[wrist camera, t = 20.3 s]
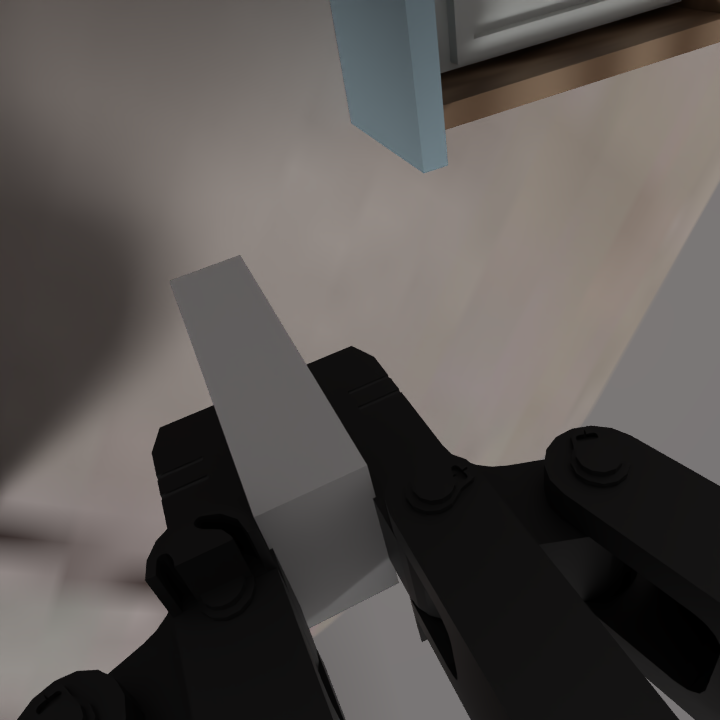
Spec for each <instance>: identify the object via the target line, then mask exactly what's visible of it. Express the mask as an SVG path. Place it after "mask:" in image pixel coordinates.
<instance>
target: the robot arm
mask: <svg viewBox="0 0 720 720" xmlns="http://www.w3.org/2000/svg"><path fill="white" fill-rule="evenodd" d="M170 284H171V287H172V289H173V292H174V295H175V298H176V301H177V303H178V306H179V309H180V312H181V315H182V317H183V320H184V323H185V326H186V329H187V331H188V334H189V337H190V340H191V343H192V345H193V348H194V351H195V354H196V357H197V360H198V362H199V365H200V368H201V371H202V374H203V376H204V379H205V382H206V385H207V388H208V390H209V393H210V396H211V399H212V402H213V404H214V405H213V406H211V407H208V408H206V409H203V410H201V411H199V412H196V413H194V414H191V415H189V416H187V417H184V418H182V419H179V420H177V421H175V422H172V423H170V424H167V425H165V426H163V427H160V429H159V432H158V435H157V438H156V441H155V444H154V447H153V451H152V456H153V461H154V466H155V471H156V476H157V478H158V486H159V490H160V495H161V497H162V505H163V510H164V515H165V520H166V525H167V530H166V531H165V532H164V533H163V534H162V535H161V536H160V537H159V538H158V539H157V541H156V542H155V544H154V546H153V549H152V551H151V553H150V555H149V557H148V559H147V563H146V576H145V581H146V582H147V583H148V585H149V586H150V587H151V589H152V590H153V591H154V593H155V594H156V595H157V597H158V598H159V600H160V601H161V602H162V604H163V605H164V606H165V608H166V609H167V610H168V614H167V616H166V617H165V619H164V620H163V622H162V623H161V625H160V626H159V627H158V629H157V630H156V632H155V633H154V634H153V635H152V636H151V637H150V638H149V639H148V640H147V641H146V642H145V643H144V644H143V645H141V646H140V647H139V648H138V649H137V650H136V651H134V652H133V653H132V654H131V655H130V656H129V657H127V658H126V659H125V660H124V661H123V662H122V663H120V664H119V665H118V666H117V667H116V668H114V669H113V670H112V671H111V672H110V673H109V674H106V673H103V672H101V671H99V670H87V671H76V672H74V673H72V674H69V675H67V676H65V677H63V678H60V679H58V680H56V681H54V682H53V683H51V684H50V685H49V686H48V687H47V688H45V689H44V690H43V691H42V692H41V693H39V694H38V695H37V696H36V697H34V698H33V699H32V700H31V702H30V703H29V704H28V706H27V707H26V708H25V710H24V711H23V712H22V714H21V715H20V716H19V718H18V719H17V720H345V717H344V714H343V712H342V710H341V707H340V704H339V702H338V699H337V696H336V694H335V691H334V688H333V686H332V683H331V681H330V678H329V675H328V673H327V670H326V668H325V665H324V663H323V661H322V659H321V657H320V655H319V653H318V651H317V649H316V646H315V644H314V641H313V638H312V635H311V633H310V630H309V628H311V627H313V626H315V625H317V624H319V623H321V622H323V621H325V620H327V619H329V618H331V617H333V616H335V615H337V614H339V613H340V612H342V611H344V610H346V609H348V608H350V607H352V606H354V605H356V604H358V603H360V602H362V601H364V600H366V599H368V598H370V597H372V596H374V595H376V594H378V593H380V592H382V591H384V590H386V589H388V588H389V587H392V586H393V585H396V584H397V583H399V581H398V578H397V574H398V576H399V577H400V579H401V581H402V583H403V585H404V586H405V588H406V590H407V592H408V594H409V596H410V600H411V603H412V607H413V611H414V615H415V619H416V623H417V627H418V630H419V633H420V637H421V640H422V642H423V641H425V640H427V639H428V641H429V643H430V645H431V647H432V648H433V650H434V652H435V654H436V656H437V658H438V659H439V661H440V663H441V665H442V667H443V669H444V671H445V672H446V674H447V676H448V678H449V680H450V682H451V684H452V686H453V687H454V689H455V691H456V693H457V695H458V697H459V699H460V700H461V702H462V704H463V706H464V708H465V710H466V712H467V713H468V715H469V717H470V719H471V720H679V719H678V718H677V716H676V715H675V714H674V713H673V711H671V709H670V708H669V707H668V705H667V704H666V703H665V701H664V700H663V699H662V698H661V697H660V695H659V694H658V693H657V691H656V690H655V689H654V688H653V686H652V685H651V684H650V683H649V682H648V680H649V681H650V682H652V683H653V684H654V685H655V686H656V687H657V688H659V689H660V690H661V691H662V692H663V693H664V694H666V695H667V696H668V697H669V698H670V699H672V700H673V701H674V702H675V703H676V704H677V705H679V706H680V707H681V708H682V709H683V710H684V711H686V712H687V713H688V714H689V715H690V716H691V717H693V718H694V719H695V720H720V486H719V485H717V484H715V483H713V482H712V481H710V480H708V479H706V478H705V477H703V476H701V475H699V474H698V473H696V472H694V471H692V470H691V469H689V468H687V467H685V466H683V465H682V464H680V463H678V462H677V461H675V460H673V459H671V458H669V457H667V456H666V455H664V454H662V453H661V452H659V451H657V450H655V449H654V448H652V447H650V446H648V445H646V444H645V443H643V442H641V441H639V440H638V439H636V438H634V437H633V436H631V435H628V434H626V433H623V432H620V431H618V430H615V429H613V428H607V427H598V426H586V427H580V428H574V429H571V430H569V431H567V432H565V433H563V434H561V435H559V436H557V437H556V438H555V439H554V440H553V442H552V443H551V444H550V446H549V447H548V448H547V449H546V455H545V459H544V460H538V461H532V462H526V463H520V464H514V465H508V466H495V467H489V466H481V465H475V464H472V463H470V462H468V461H467V460H466V459H464V458H461V457H458V456H455V455H452V454H451V453H450V452H449V451H448V450H447V449H446V448H445V447H444V446H443V445H442V444H441V443H440V441H439V440H438V439H437V437H436V436H435V435H434V434H433V432H432V431H431V430H430V428H429V427H428V426H427V425H426V423H425V422H424V421H423V419H422V418H421V417H420V416H419V414H418V413H417V412H416V410H415V409H414V408H413V407H412V405H411V404H410V403H409V401H408V400H407V399H406V398H405V396H404V395H403V394H402V392H401V393H400V391H399V388H398V387H397V386H396V385H395V383H394V382H393V381H392V379H391V378H389V377H388V374H387V373H386V372H385V370H384V369H383V368H382V367H381V365H380V364H379V363H378V361H377V360H376V359H375V358H374V357H373V356H371V355H369V354H367V353H365V352H363V351H361V350H359V349H357V348H355V347H353V346H350V347H348V348H345V349H343V350H341V351H338V352H336V353H333V354H331V355H328V356H326V357H324V358H321V359H319V360H316V361H314V362H312V363H309V364H307V365H306V363H305V362H304V360H303V358H302V357H301V355H300V353H299V352H298V350H297V348H296V347H295V345H294V343H293V342H292V340H291V338H290V337H289V335H288V333H287V332H286V330H285V329H284V327H283V325H282V324H281V322H280V320H279V319H278V317H277V315H276V314H275V312H274V310H273V309H272V307H271V305H270V304H269V302H268V300H267V299H266V297H265V295H264V294H263V292H262V290H261V289H260V287H259V286H258V284H257V282H256V281H255V279H254V277H253V276H252V274H251V272H250V271H249V269H248V267H247V266H246V264H245V262H244V261H243V259H242V257H241V256H240V255H238V256H236V257H233V258H230V259H227V260H225V261H222V262H219V263H217V264H214V265H211V266H208V267H206V268H203V269H200V270H198V271H195V272H192V273H189V274H187V275H184V276H181V277H179V278H176V279H173V280H170ZM396 572H397V574H396ZM644 676H645V677H646V678H647V679H648V680H647V679H646V678H645V677H644Z"/></svg>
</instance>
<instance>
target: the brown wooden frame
mask: <svg viewBox="0 0 720 720" xmlns="http://www.w3.org/2000/svg"><path fill="white" fill-rule="evenodd" d="M718 42H720V0H681V1H680V2H677V3H673V4H670V5H667V6H663V7H660V8H657V9H653V10H650V11H647V12H643V13H640V14H637V15H633V16H630V17H627V18H623V19H620V20H617V21H613V22H610V23H607V24H603V25H600V26H597V27H593V28H590V29H587V30H583V31H580V32H577V33H573V34H570V35H567V36H564V37H560V38H557V39H554V40H550V41H547V42H544V43H540V44H537V45H534V46H530V47H527V48H524V49H520V50H517V51H514V52H510V53H507V54H504V55H500V56H497V57H494V58H490V59H487V60H484V61H480V62H477V63H474V64H470V65H467V66H464V67H460V68H457V69H454V70H450V71H447V72H444V73H440V74H441V87H442V99H443V111H444V123H445V130H446V129H449V128H453V127H456V126H459V125H462V124H465V123H468V122H471V121H474V120H478V119H481V118H484V117H487V116H490V115H493V114H496V113H499V112H503V111H506V110H509V109H512V108H515V107H518V106H521V105H524V104H528V103H531V102H534V101H537V100H540V99H543V98H546V97H549V96H553V95H556V94H559V93H562V92H565V91H568V90H571V89H574V88H578V87H581V86H584V85H587V84H590V83H593V82H596V81H599V80H603V79H606V78H609V77H612V76H615V75H618V74H621V73H624V72H628V71H631V70H634V69H637V68H640V67H643V66H646V65H649V64H653V63H656V62H659V61H662V60H665V59H668V58H671V57H674V56H677V55H681V54H684V53H687V52H690V51H693V50H696V49H699V48H702V47H706V46H709V45H712V44H715V43H718Z"/></svg>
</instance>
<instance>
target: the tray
mask: <svg viewBox="0 0 720 720" xmlns="http://www.w3.org/2000/svg"><path fill="white" fill-rule="evenodd" d="M680 1H681V0H330V5H331V10H332V16H333V22H334V27H335V33H336V39H337V44H338V50H339V56H340V62H341V67H342V73H343V79H344V84H345V90H346V96H347V101H348V107H349V113H350V118H351V123H352V124H353V125H355V126H356V127H358V128H359V129H360V130H362V131H363V132H365V133H366V134H368V135H369V136H371V137H372V138H373V139H375V140H376V141H378V142H379V143H381V144H382V145H384V146H385V147H386V148H388V149H389V150H391V151H392V152H394V153H395V154H397V155H398V156H399V157H401V158H402V159H404V160H405V161H407V162H408V163H410V164H411V165H412V166H414V167H415V168H417V169H418V170H420V171H421V172H422V173H426V172H429V171H433V170H436V169H439V168H442V167H445V166H448V160H447V148H446V135H445V123H444V111H443V99H442V87H441V74H440V73H444V72H447V71H450V70H454V69H457V68H460V67H464V66H467V65H470V64H474V63H477V62H480V61H484V60H487V59H490V58H494V57H497V56H500V55H504V54H507V53H510V52H514V51H517V50H520V49H524V48H527V47H530V46H534V45H537V44H540V43H544V42H547V41H550V40H554V39H557V38H560V37H564V36H567V35H570V34H573V33H577V32H580V31H583V30H587V29H590V28H593V27H597V26H600V25H603V24H607V23H610V22H613V21H617V20H620V19H623V18H627V17H630V16H633V15H637V14H640V13H643V12H647V11H650V10H653V9H657V8H660V7H663V6H667V5H670V4H673V3H677V2H680Z"/></svg>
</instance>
